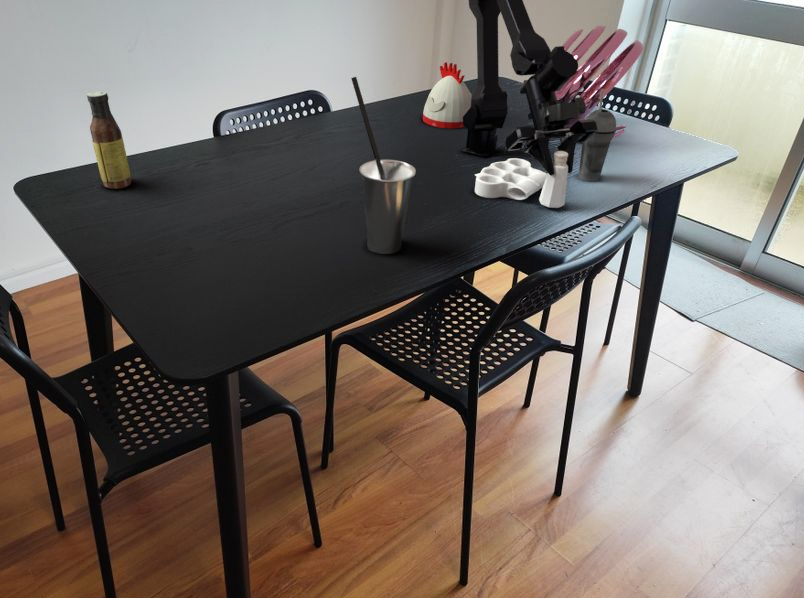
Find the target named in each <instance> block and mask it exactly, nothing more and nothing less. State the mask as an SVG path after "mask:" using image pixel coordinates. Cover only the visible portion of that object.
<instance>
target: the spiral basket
mask: <svg viewBox="0 0 804 598" xmlns="http://www.w3.org/2000/svg"><path fill="white" fill-rule="evenodd" d="M606 29H607V26H606V25H603V24H598V25H596V26H594V27H593V28H592V29H591V31H590V32H588V33H587V35H586V36H585V37H584V38H583V39H581V41H579V43H578V45H577V46H576V47H575V48H574V49H573V50H572V51H571V52H569V53H570V54H572V55H573V56H574V57H575V59H576V60H577V62H578V63H579V62H580V60H581V59H582V58H583V57H584V56H585V54H586V53H588V51H589V50H590V48H592V47H593V45H594V44H595V43H596V42H597V40H598V39H599V38H600V37H601V36H602V35H603V33H604V32H605V31H606ZM582 33H584V29H583V28H581V29H578V30H575V31H573V33H571V35H570V36H569V37H568V38H567V39H566V41H564V43H563V44H562V45H561V46H564V48H565V51H567V52H568V50H569V49H570V48H571V47H572V45H573V44H574V43H575V42H576V41H577V40H578V39H579V37H580V36H581V35H582ZM627 36H628V32H627V31H626V30H625V29H623V28H617V29H615V30H614V31H613V32H612V34H610V35H609V36H608V37H607V38H606V39H605V40H604V41H603V42H602V43H601V44H600V45H599V46H598V47H597V49H596V50H595V51H594V52H593V53H592V54H591V55H590V56H589V57H588V58H587V59H586V60H585V61H584V63H583V64H582V65H581V66H580V67H578V70H577V72H576V74H575V75H574V76H573V77H572V78H571V79H570V80H569V81H568V82H567V83H566V84H565V85H564V86H563V87H562V88H561V89H560V90H558V91H555V93H556V97H557V100H562V101H563V103H571V99H574V98H575V97H576V95H578V93H580V91H581V90H582V89H583V88H584V87H585V86H586V85H587V84H588V83H589V81H590V80H591V79H592V78H593V77H594V76H596V74H597V73H598V71H600V69H601V68H602V67H603V66H604V65H605V64H606V63H607V62H608V60H610V58H611V57H612V55H613V54H614V53H616V51H617V50H618V48H619V47H620V46H621V45H622V43H623V42H624V40H625V39H626V38H627ZM644 49H645V47H644V44H643V43H642V42H641V41H640V40H639V39H636V40H634V41H633V42H631V43H630V44H629V45H628V46H626V47H625V49H623V51H621V52H620V53H619V54H618V55H617V56H616V57H615V58H614V59H613V60H612V61H611V62H610V63H609V64H608V65H607V66H606V67H605V68H604V69H603V70H602V71H601V73H599V75H598V76H597V77H596V78H595V79H594V80H592V82H591V83H590V84H589V85H588V86H587V87H586V89H585V90H584V91H583V92H582V93H581V94H580V96H579V97H578V98H580V97H583V99H584V102H585V104H586V111H585V113H583V114H579V118H578V119H570V123H569V124H568V125H565V126H564V128H570V127H571V126H572V125H574V124H575V123H576V122H577V121H580V120H586V118H585V117H587V116H588V115H589V114H590V113H591V112H592V111H593V110H594V109H595V108H596V106H597V105H599V104H600V95H601V89H603V99H604V98H605V97H606V96H607V95H608V94H609V93H610V92H611V91H612V90H613V89H614V87H616V85H617V84H618V83H619V82H620V81H621V79H623V77H624V76H625V75H626V74H627V73H628V71H629V70H630V69H631V68H632V67H633V65H634V64H635V63H636V62H637V61H638V59H639V58H640V56H641V55H642V53H643V52H644ZM625 128H627V126H626V125H623V124H622V125H616V132H615V134H614V137H613V139H615V138H617V137H620V135H622V134H624V133H625V131H626V129H625Z"/></svg>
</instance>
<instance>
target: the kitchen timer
mask: <svg viewBox="0 0 804 598" xmlns="http://www.w3.org/2000/svg"><path fill="white" fill-rule="evenodd" d="M439 71H440V75H441V76H440V77H441V79H440V80H438V81H437V82H436V83H435V85H434V86H433V87H432V88H431V91H430V92H429V94H428V97H427V99H426V101H425V104H424V107H423V112H422V120H423V122H424V123H425V124H426V125H429V126H430V127H431V126H432V127H436V128H441V129H463V128H465V127H464V126H463V116H464V115H465V113H466V112H467V111H468V110H469V108H470V107H471V98H472V96H473V93H471V92H470V90H469V88H468V87H467V86H468V85H466V83H465V82H464V81H463V80H464V79H465V75H461V72H462V70H461V69H458V65H457V63H455V64H453V62H450V63H449V64H448V62H447V61H445V62H443V65H440V66H439ZM460 75H461V77H460Z"/></svg>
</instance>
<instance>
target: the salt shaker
mask: <svg viewBox="0 0 804 598" xmlns="http://www.w3.org/2000/svg"><path fill="white" fill-rule="evenodd" d="M567 157H568V153H567V152H564V151H558V150H557V151H555V152H554V153H553V160H552V163H553V167H554V175H552V176H550V175H549V174H548V172H547V171H546V174H547V175H546V179H545V182H544V185H543V187H542V188H541V191H540V192H541V193H540V196H539V198H538V200H539V203H540V205H542V206H544V207H547V208H549V209H550V208H551V209H559V208H561V207H564V206H565V205H566V194H567V193H566V191H567V185H568V184H567V183H568V175H569V173H568V166H567V164H566V161H567Z"/></svg>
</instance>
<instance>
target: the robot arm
mask: <svg viewBox="0 0 804 598" xmlns="http://www.w3.org/2000/svg"><path fill="white" fill-rule="evenodd" d="M468 9H470V12H471V13H472V14H473V16H474V18H475V21H476V65H477V66H476V67H477V69H476V70H477V74H476V75H477V86H476V88H475V90H474V92H473V93H472V97H471V107H470V108H469V110H468V111H467V112H466V113H465V115H464V116H463V126H464V127H463V128H465V129H467V135H466V143H465V144H466V145H465V148H464V149H463V150H462V153H465V154H469V155H473V156H477V157H482V158H488V157H489V156H490V155H492V154H494V153H495V152H496V151H497V145H498V143H497V142H498V137H499V136H498V134H497V129H503V128H504V124H505V122H506V118H507V115H508V110H509V107H508V93H507V91H506V90H503V89H502V87H501V86H500V82H499V73H500V71H499V70H500V69H499V17H500V14H501V16H502V17H501V18H502V19H503V22H504V25H505V28H506V30H507V33H508V35H509V38H510V41H511V45H512V48H511V51H510V54H509V57H510V60H511V67H512V69H513V71H514V74H516V76H521V77H523V76H529V78H528V79H525V80H523V84H522V85H521V87H520V88H519V89H520V90H519V94H520V95H526V100H527V103H528V109H529V113H528V114H527V118H528V120H529V121H531V120H532V124H533V125H522V126H516V127H515V128H514V129H513V130H512V131H511V132H510V133H509V134H508V135H507V136H506V138H505V147H506V151H508V152H513V151H519V150H521V149H522V147H523V146H524V143H525V144H526V148H524V150H523V152H524V153H525V154H526V153H527V154H529V155H530V156H531V157H532V159H534V160H535V161H536V162H537V163H538V164H539V165H540V166H541V167H542V168H543V169H544V171H546V173H547V172H548V174H549V175H550V176H552V175H554V167H553V159H552V155H551V152H550V147H549V146H550V140H557V139H559V143H560V144H559V145H557V147H556V148H557V151H564V152H567V153H568V157H567V161H566V164H567V166H568V174H572V173H573V170H574V169H573V168H574V159H575V152H576V147H577V144H582V142H585V141H586V140H587V139H588V138H590V137H591V136H592V135H593V134H595V133H596V132H597V131H598V128H597V124H596V122H595V121H594V120H592V119H589V120H580V121H577V122H576V123H575V124H574V125H572V126H571V127H570V128H564V126H565V125H568V124H569V123H570V119H578V118H579V114H583V113H585V111H586V104H585V102H584V99H583V97H580V96H579V97H580V98H579V97H574V98H572V99H571V101H570V102H569V103H563V101H562V100H557V97H556V93H555V91H559V90H561V88H562V87H563V86H564V85H565V84H566V83H567V82H568V81H569V80H570V79H571V78H572V77H573V76H574V75H575V74H576V72H577V70H578V69H579V61H578V62H577V60H576V59H575V57H574V56H573V55H572V54H570V53H571V52H569V51H568V50H567V51H565V48H564V46H562V45H557V46H554V47H553V48H552V49H551V48H550V47H549V45H548V43H547V41H546V39H545V38H544V37H543V36H541V35H540V34H539V33H537V32H536V31H535V29H534V26H533V24H532V21H531V18H530V16H529V13H528V11H527V7H526V6H525V3H524V0H468Z"/></svg>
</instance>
